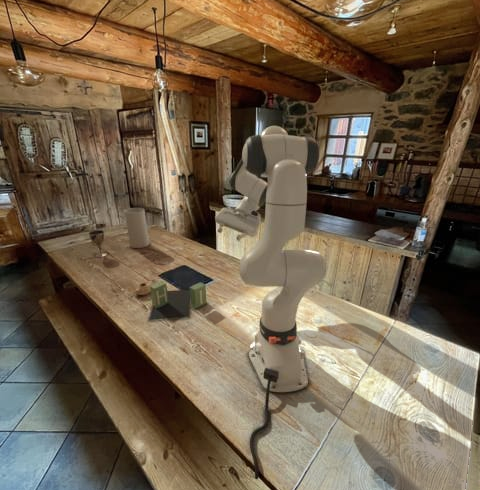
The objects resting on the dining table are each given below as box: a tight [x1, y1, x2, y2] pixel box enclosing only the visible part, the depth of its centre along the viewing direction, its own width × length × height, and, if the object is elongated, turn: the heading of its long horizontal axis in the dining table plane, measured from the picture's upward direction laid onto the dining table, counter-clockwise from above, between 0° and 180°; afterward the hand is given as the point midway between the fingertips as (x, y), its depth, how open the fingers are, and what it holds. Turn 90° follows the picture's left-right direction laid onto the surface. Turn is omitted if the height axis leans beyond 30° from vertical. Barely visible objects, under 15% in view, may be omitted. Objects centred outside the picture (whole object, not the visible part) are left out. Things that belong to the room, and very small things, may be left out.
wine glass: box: [88, 230, 108, 258], centre depth 167 cm, size 8×8×15 cm
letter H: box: [150, 280, 169, 308], centre depth 117 cm, size 4×6×10 cm, turn 137°
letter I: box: [189, 281, 207, 309], centre depth 117 cm, size 4×6×10 cm, turn 137°
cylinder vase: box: [123, 207, 150, 249], centre depth 180 cm, size 12×12×25 cm
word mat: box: [149, 289, 191, 321], centre depth 120 cm, size 22×16×1 cm
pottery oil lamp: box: [132, 279, 158, 296], centre depth 128 cm, size 9×12×7 cm
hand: (228, 235), depth 114 cm, fingers open, 8 cm apart
